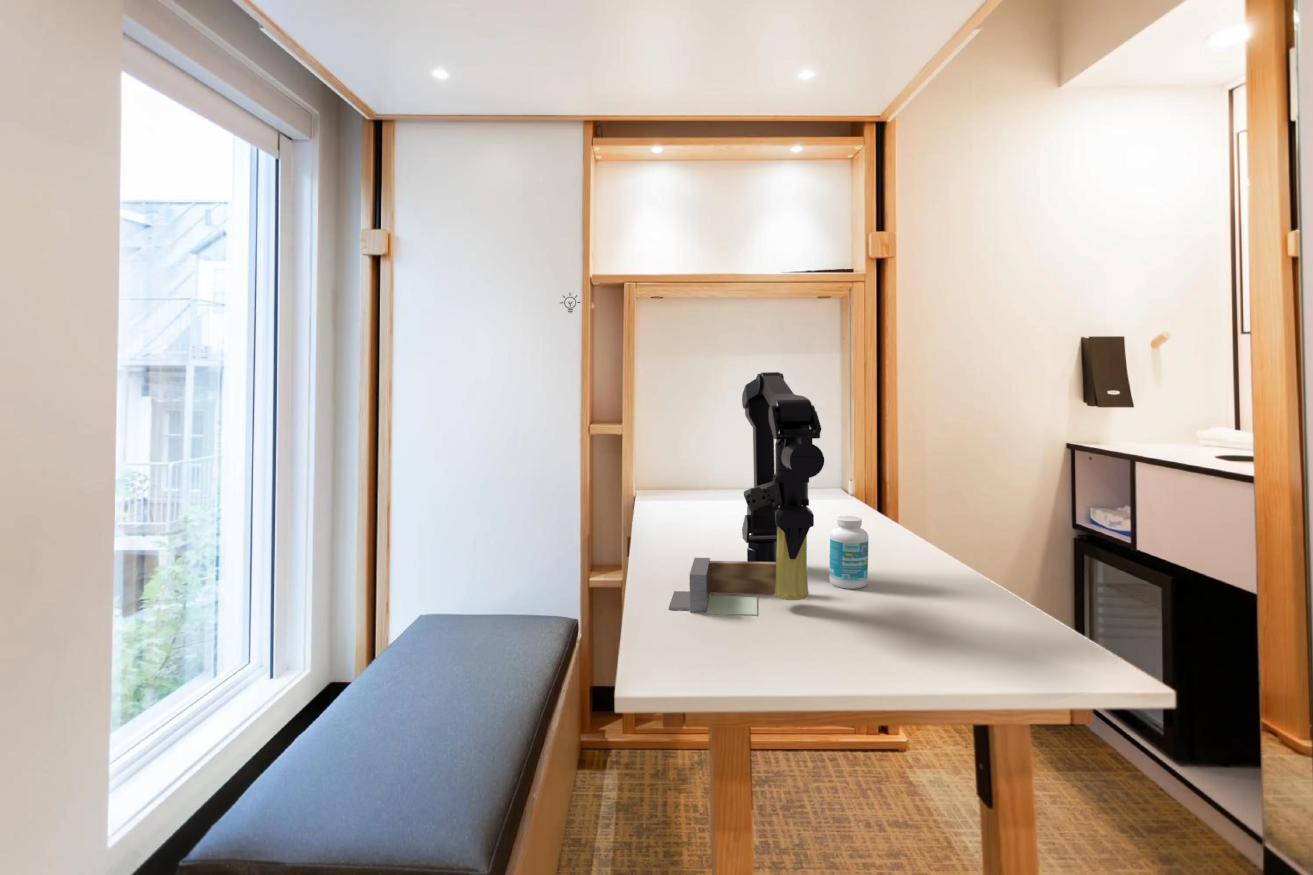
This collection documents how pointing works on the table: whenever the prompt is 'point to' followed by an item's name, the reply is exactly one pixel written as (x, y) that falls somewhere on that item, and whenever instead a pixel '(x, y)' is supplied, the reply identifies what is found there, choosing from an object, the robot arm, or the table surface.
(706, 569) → the bookend
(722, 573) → the back rail
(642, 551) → the table surface
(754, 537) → the robot arm
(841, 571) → the pill bottle
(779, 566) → the vase
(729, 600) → the mat
